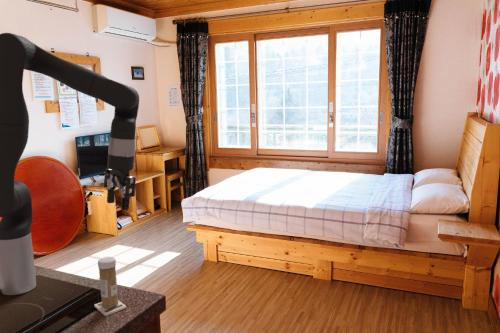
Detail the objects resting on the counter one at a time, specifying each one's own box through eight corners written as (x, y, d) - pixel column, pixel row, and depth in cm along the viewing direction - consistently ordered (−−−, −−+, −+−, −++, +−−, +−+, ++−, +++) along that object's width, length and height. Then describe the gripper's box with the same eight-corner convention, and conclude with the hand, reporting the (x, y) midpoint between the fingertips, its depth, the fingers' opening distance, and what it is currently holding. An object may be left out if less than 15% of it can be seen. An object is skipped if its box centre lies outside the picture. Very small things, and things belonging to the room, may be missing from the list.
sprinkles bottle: (120, 306, 110) (117, 260, 108) (103, 310, 108) (99, 264, 105) (116, 299, 114) (112, 254, 112) (99, 303, 112) (96, 258, 109)
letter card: (94, 306, 111) (94, 304, 111) (114, 299, 115) (114, 297, 115) (105, 316, 106) (105, 314, 106) (126, 308, 110) (126, 305, 110)
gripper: (98, 149, 120) (94, 201, 123) (122, 157, 111) (117, 213, 113) (121, 150, 126) (117, 199, 128) (145, 157, 116) (141, 210, 119)
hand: (117, 206), depth 121 cm, fingers open, 8 cm apart
